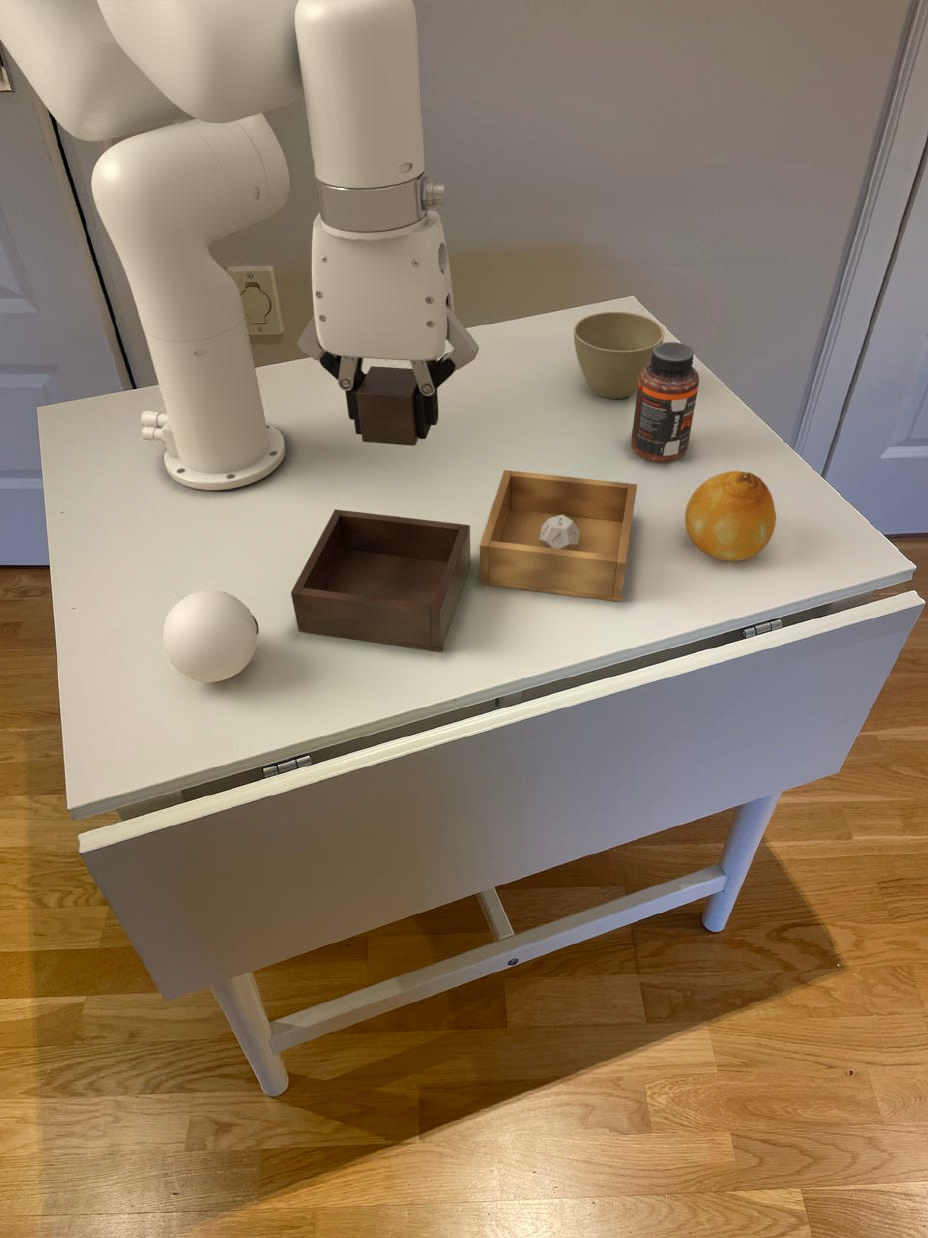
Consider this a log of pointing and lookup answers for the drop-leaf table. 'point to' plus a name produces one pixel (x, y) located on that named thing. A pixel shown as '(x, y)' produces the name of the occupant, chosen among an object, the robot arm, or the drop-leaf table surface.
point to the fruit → (731, 516)
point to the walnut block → (388, 406)
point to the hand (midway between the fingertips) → (394, 426)
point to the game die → (559, 533)
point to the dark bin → (383, 580)
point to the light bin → (531, 566)
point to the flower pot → (615, 350)
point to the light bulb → (210, 636)
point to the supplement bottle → (665, 403)
